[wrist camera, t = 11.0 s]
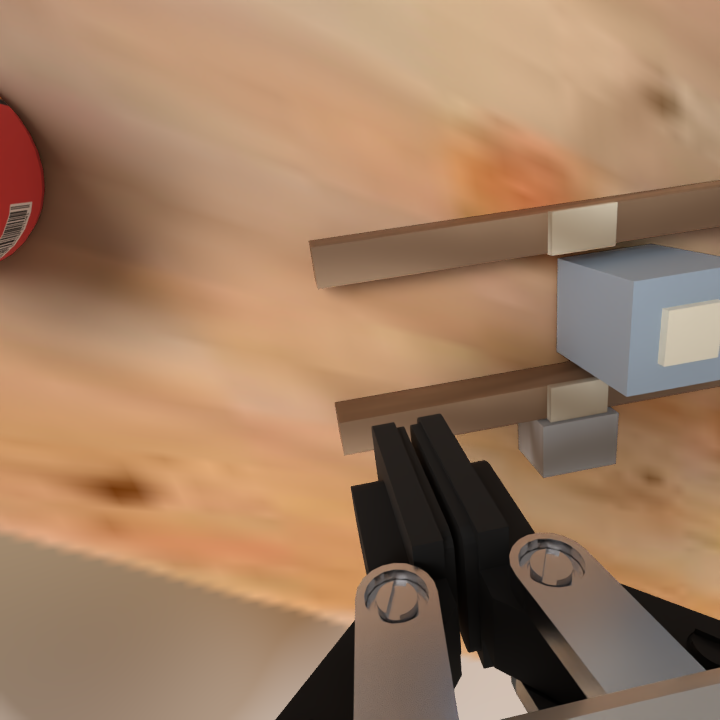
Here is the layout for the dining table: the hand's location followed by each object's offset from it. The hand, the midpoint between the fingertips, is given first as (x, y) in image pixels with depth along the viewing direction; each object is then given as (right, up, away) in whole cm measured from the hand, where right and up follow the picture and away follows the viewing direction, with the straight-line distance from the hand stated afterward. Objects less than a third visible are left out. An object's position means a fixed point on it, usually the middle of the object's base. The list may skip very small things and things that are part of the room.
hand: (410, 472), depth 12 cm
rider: (+11, +6, +15) cm, 19 cm away
